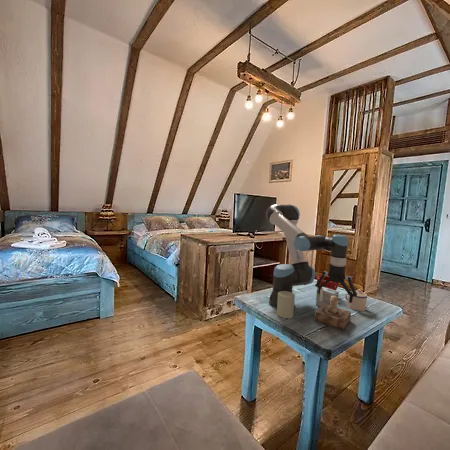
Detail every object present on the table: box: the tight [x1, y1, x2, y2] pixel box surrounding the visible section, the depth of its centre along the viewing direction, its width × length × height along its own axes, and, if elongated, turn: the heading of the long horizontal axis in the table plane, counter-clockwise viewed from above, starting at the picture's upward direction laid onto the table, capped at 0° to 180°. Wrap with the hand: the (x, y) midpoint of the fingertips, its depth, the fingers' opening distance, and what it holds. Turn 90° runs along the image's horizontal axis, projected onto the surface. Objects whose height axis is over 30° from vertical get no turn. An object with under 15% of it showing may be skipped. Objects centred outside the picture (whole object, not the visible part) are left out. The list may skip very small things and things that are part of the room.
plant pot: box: [316, 275, 339, 291], centre depth 165 cm, size 13×13×12 cm
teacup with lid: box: [344, 288, 368, 312], centre depth 148 cm, size 12×9×12 cm
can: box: [275, 291, 296, 319], centre depth 135 cm, size 9×9×12 cm
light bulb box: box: [315, 287, 340, 308], centre depth 147 cm, size 11×7×11 cm, turn 41°
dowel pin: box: [329, 296, 339, 314], centre depth 129 cm, size 4×4×12 cm
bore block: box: [314, 304, 352, 331], centre depth 130 cm, size 14×14×5 cm
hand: (334, 304), depth 129 cm, fingers open, 13 cm apart
